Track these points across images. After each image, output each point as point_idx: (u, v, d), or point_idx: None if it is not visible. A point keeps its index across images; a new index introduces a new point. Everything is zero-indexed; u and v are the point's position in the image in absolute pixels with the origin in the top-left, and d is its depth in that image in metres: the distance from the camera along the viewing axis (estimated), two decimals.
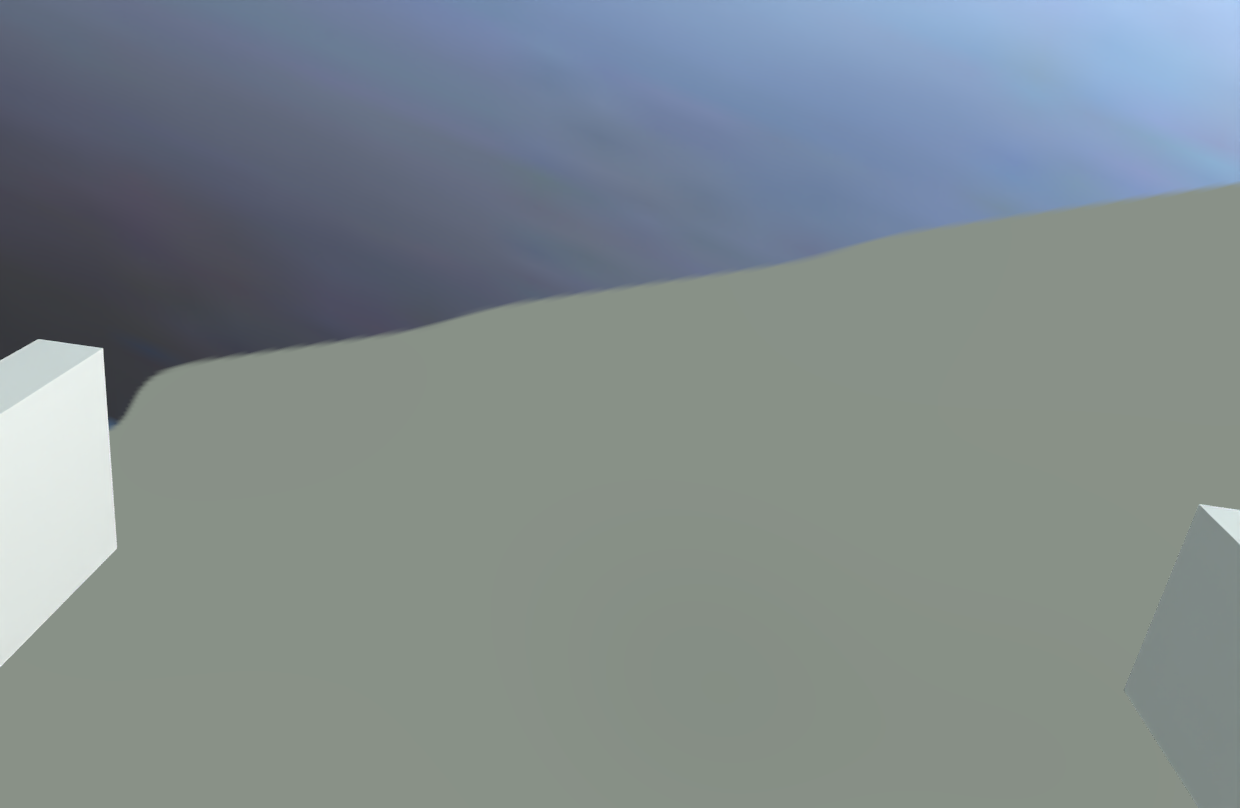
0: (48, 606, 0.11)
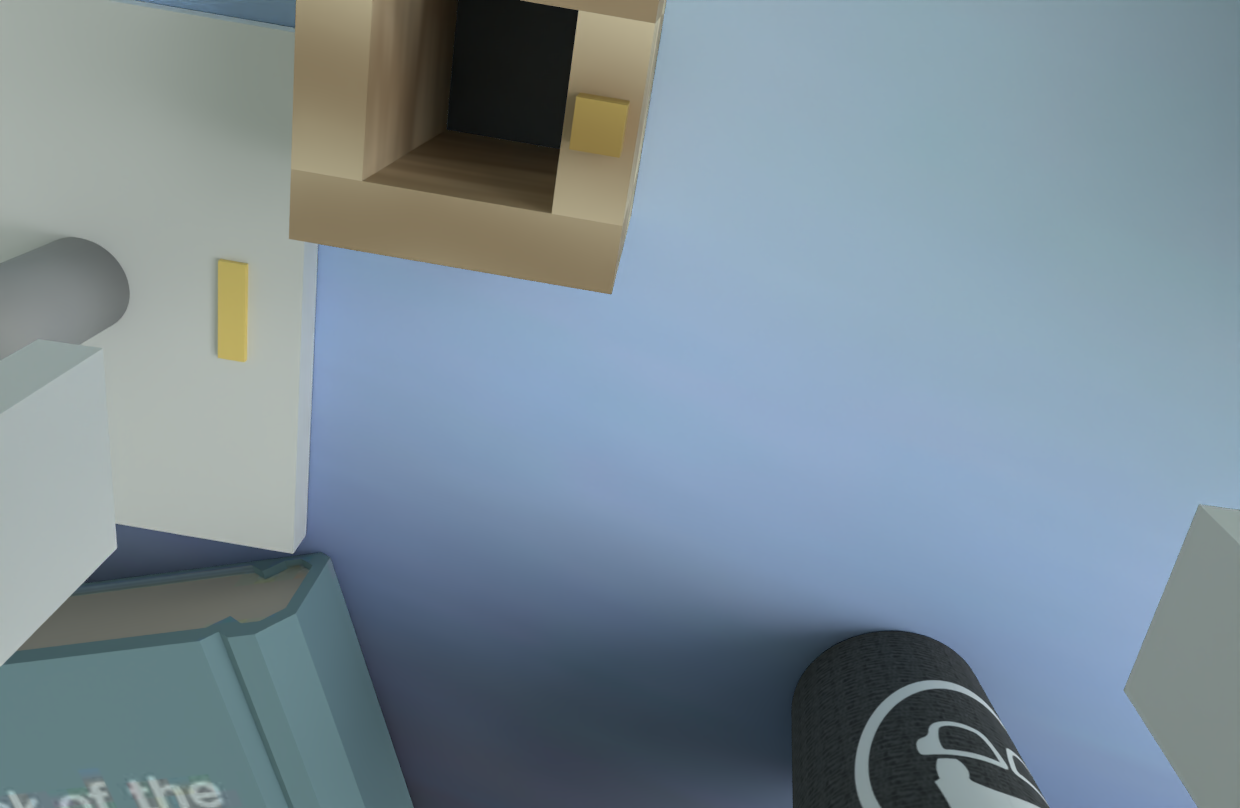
0: (49, 606, 0.11)
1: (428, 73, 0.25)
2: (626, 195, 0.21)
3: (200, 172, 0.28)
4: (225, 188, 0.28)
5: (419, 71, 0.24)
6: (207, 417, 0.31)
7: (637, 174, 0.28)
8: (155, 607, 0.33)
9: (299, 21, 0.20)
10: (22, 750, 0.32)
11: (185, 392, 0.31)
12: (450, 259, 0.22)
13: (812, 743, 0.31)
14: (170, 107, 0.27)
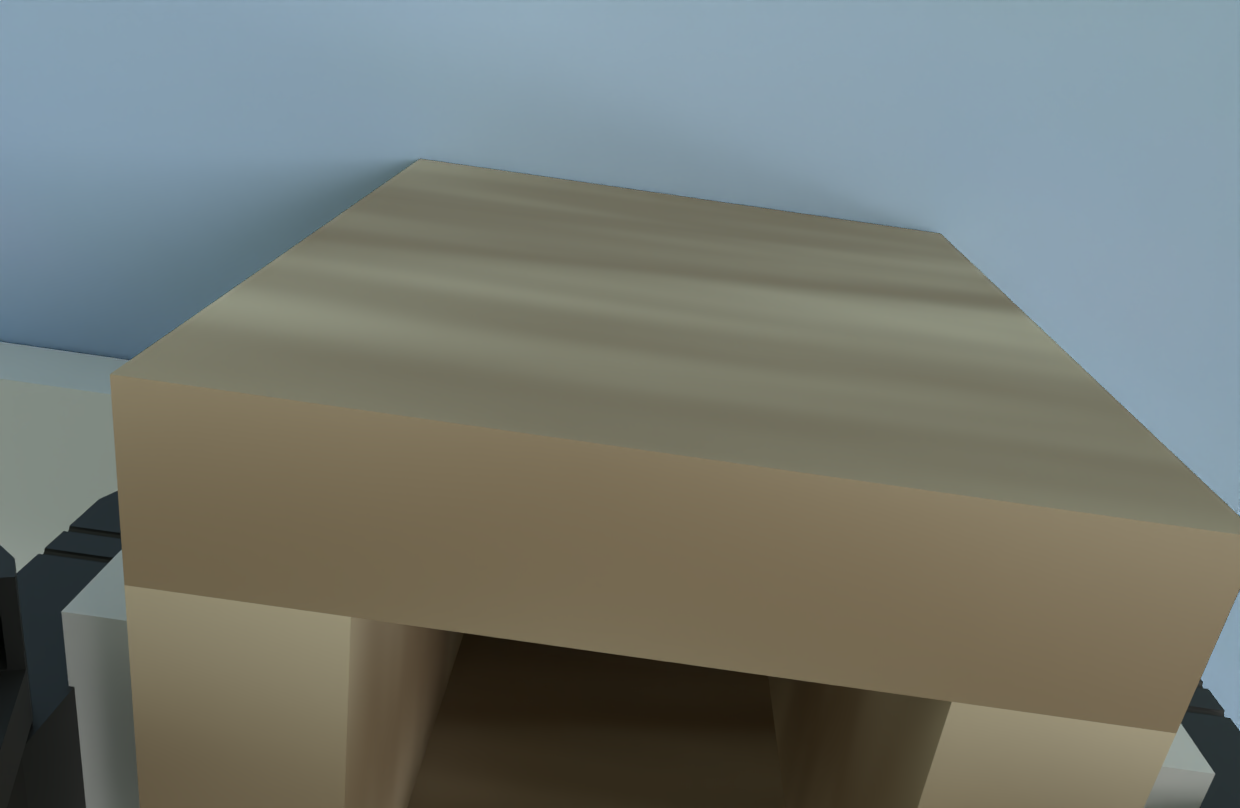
0: None
1: None
2: None
3: None
4: None
5: None
6: None
7: None
8: None
9: (145, 715, 0.07)
10: None
11: None
12: None
13: None
14: None
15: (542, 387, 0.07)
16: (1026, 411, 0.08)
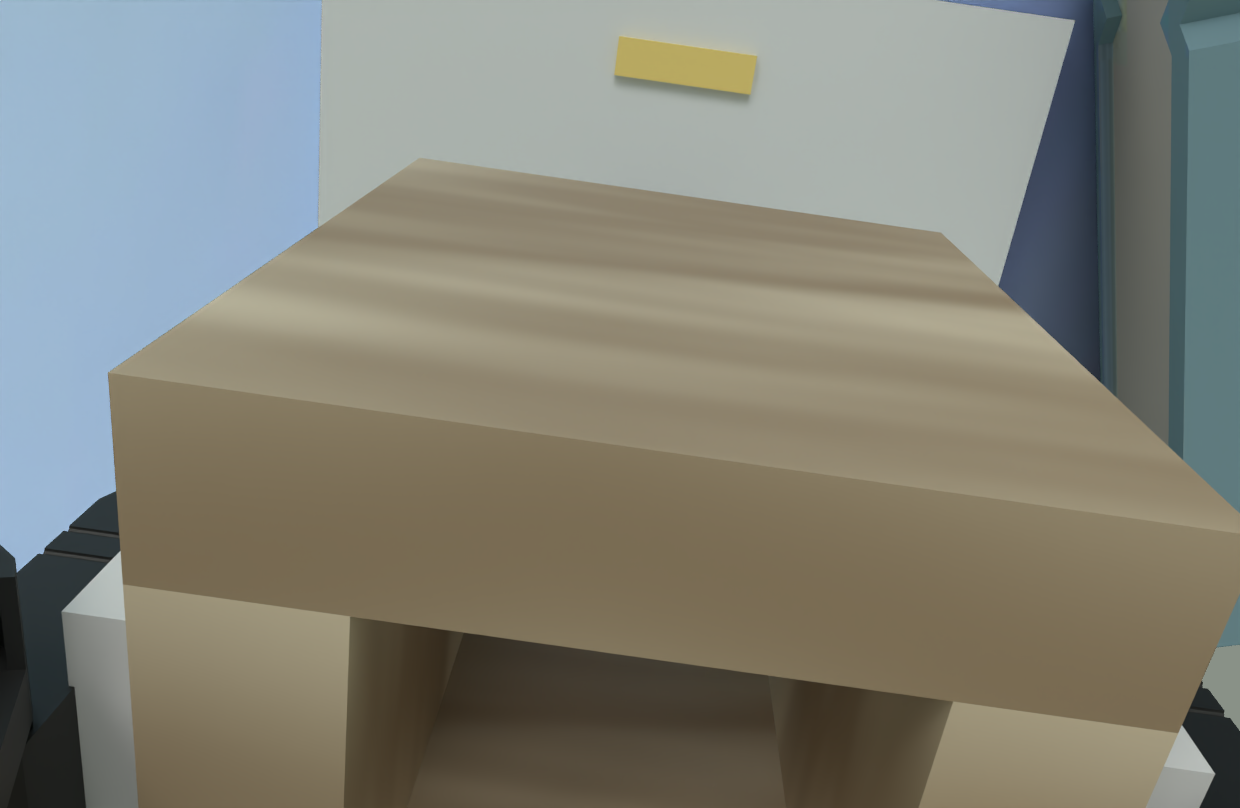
0: None
1: None
2: None
3: (504, 85, 0.22)
4: (521, 55, 0.22)
5: None
6: (841, 126, 0.22)
7: None
8: (1141, 183, 0.22)
9: (143, 715, 0.07)
10: None
11: (803, 152, 0.23)
12: None
13: None
14: (429, 113, 0.23)
15: (541, 385, 0.07)
16: (1027, 409, 0.08)
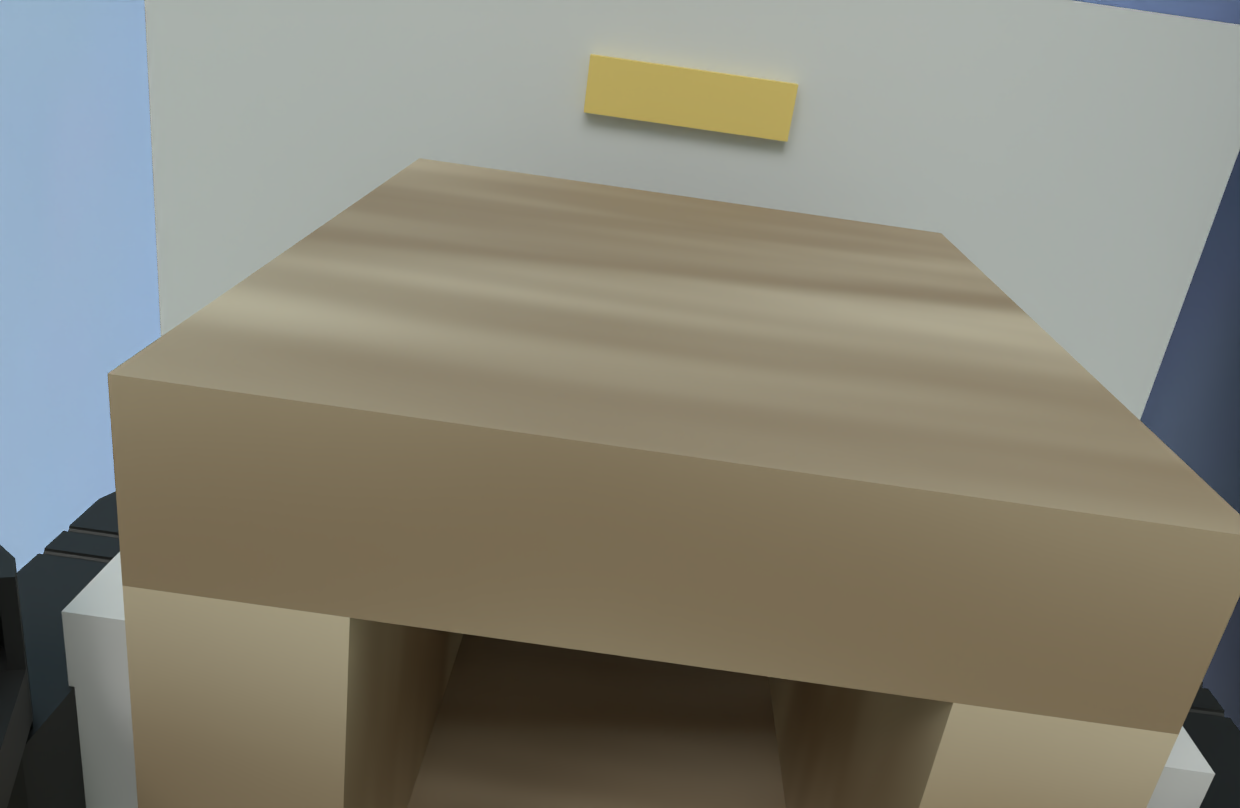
0: None
1: None
2: None
3: (421, 126, 0.15)
4: (446, 83, 0.15)
5: None
6: (921, 188, 0.15)
7: None
8: None
9: (143, 716, 0.07)
10: None
11: None
12: None
13: None
14: (312, 166, 0.15)
15: (541, 387, 0.07)
16: (1027, 410, 0.08)
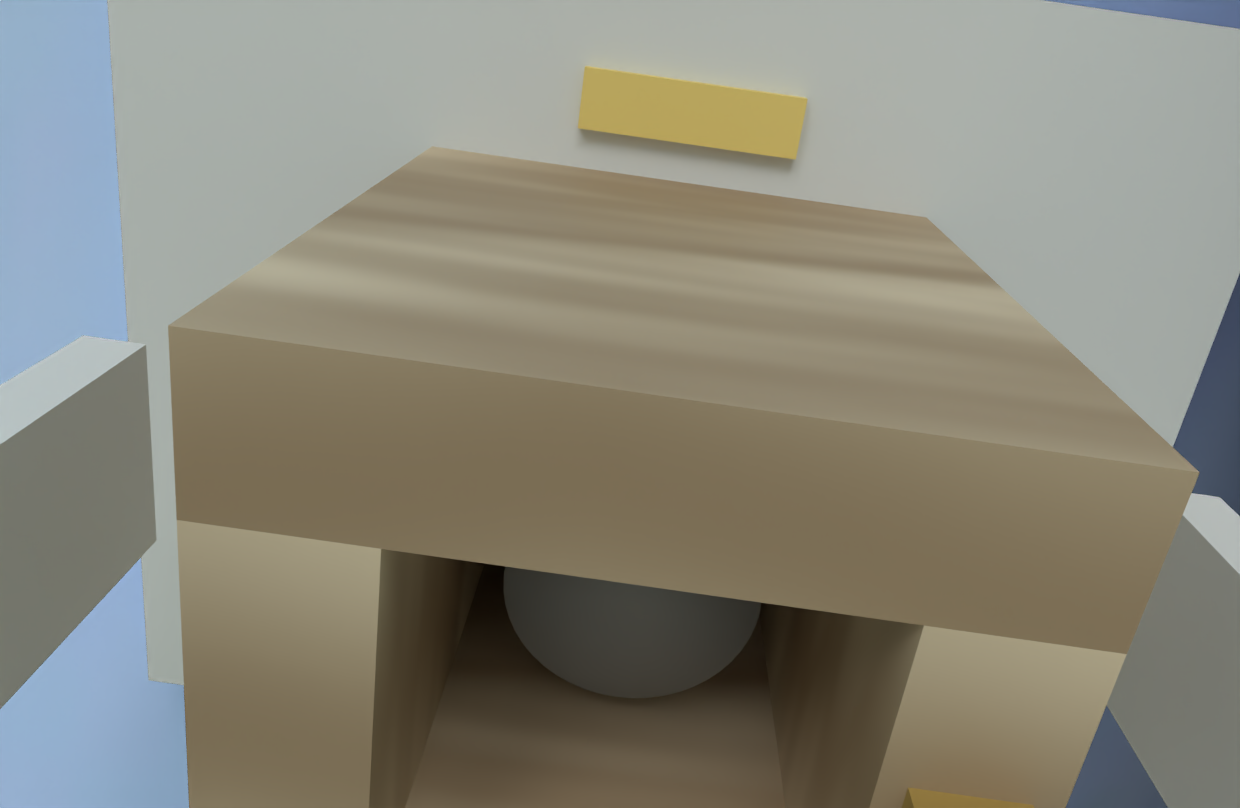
0: (95, 596, 0.12)
1: None
2: None
3: (404, 143, 0.14)
4: (430, 96, 0.14)
5: None
6: (939, 209, 0.14)
7: None
8: None
9: (192, 642, 0.08)
10: None
11: None
12: None
13: None
14: (289, 185, 0.14)
15: (553, 343, 0.07)
16: (994, 368, 0.08)
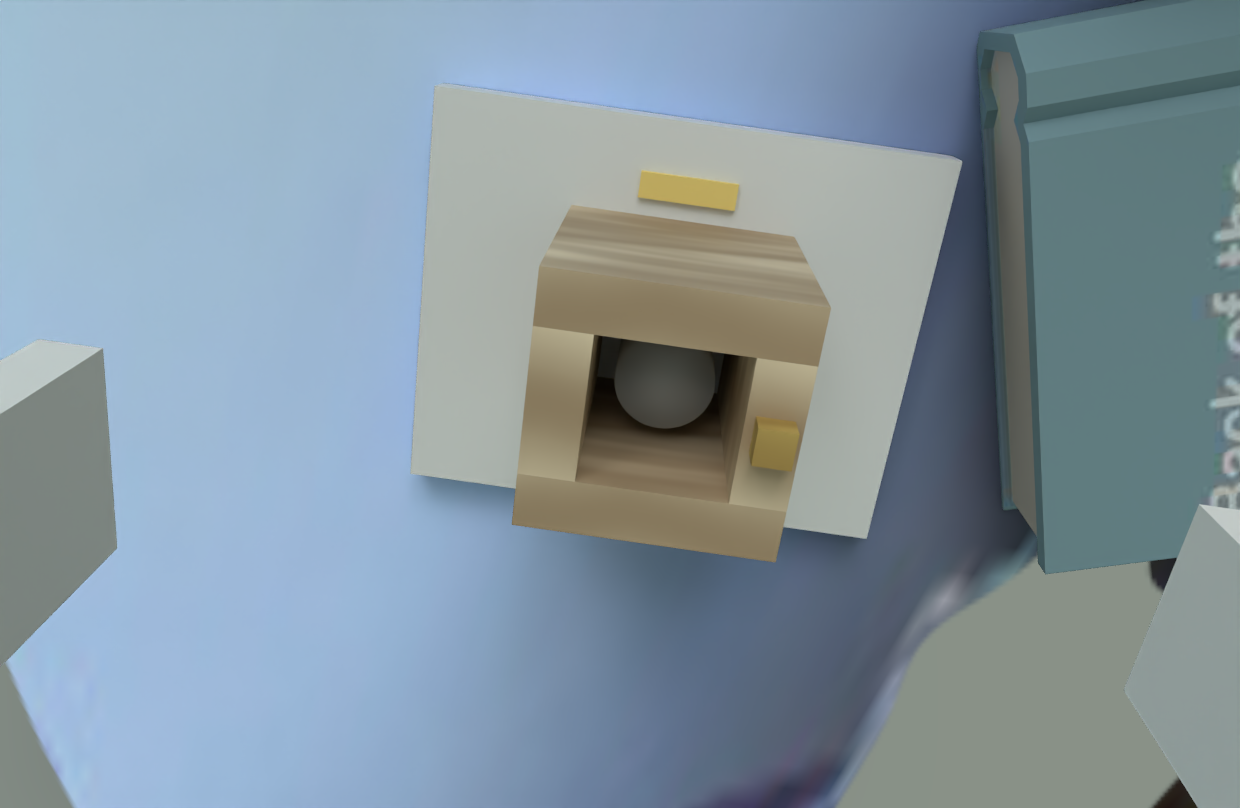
0: (48, 606, 0.11)
1: (597, 353, 0.30)
2: (790, 489, 0.26)
3: (559, 203, 0.31)
4: (572, 183, 0.31)
5: (596, 360, 0.29)
6: (800, 233, 0.31)
7: None
8: (1012, 230, 0.31)
9: (531, 367, 0.25)
10: (1155, 376, 0.29)
11: None
12: (643, 537, 0.27)
13: None
14: (504, 222, 0.32)
15: (645, 273, 0.25)
16: (786, 284, 0.25)
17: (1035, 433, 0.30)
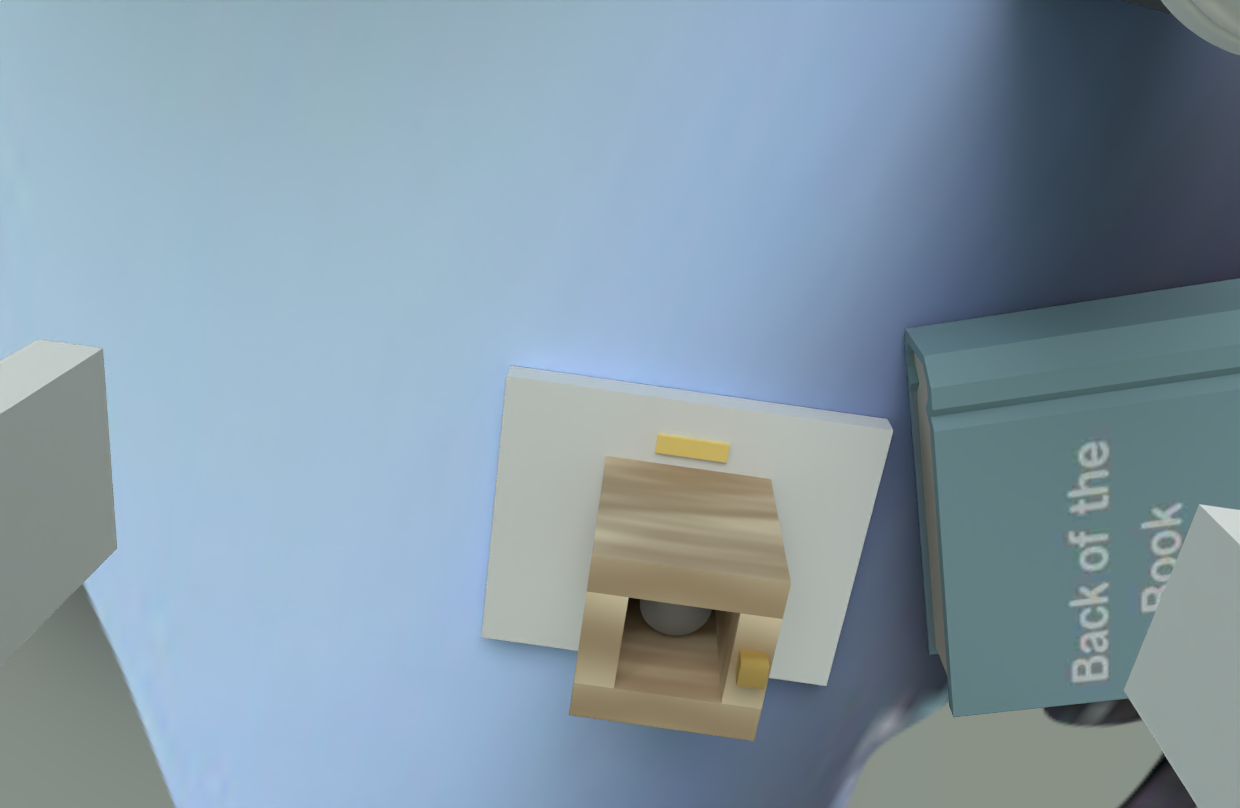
0: (49, 606, 0.11)
1: None
2: (764, 694, 0.37)
3: (596, 454, 0.42)
4: (606, 441, 0.42)
5: None
6: (774, 476, 0.42)
7: None
8: (930, 469, 0.41)
9: (585, 617, 0.36)
10: (1029, 585, 0.40)
11: None
12: (661, 724, 0.38)
13: None
14: (556, 466, 0.43)
15: (664, 554, 0.36)
16: (761, 555, 0.37)
17: (944, 619, 0.41)
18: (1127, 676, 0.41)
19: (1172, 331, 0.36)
